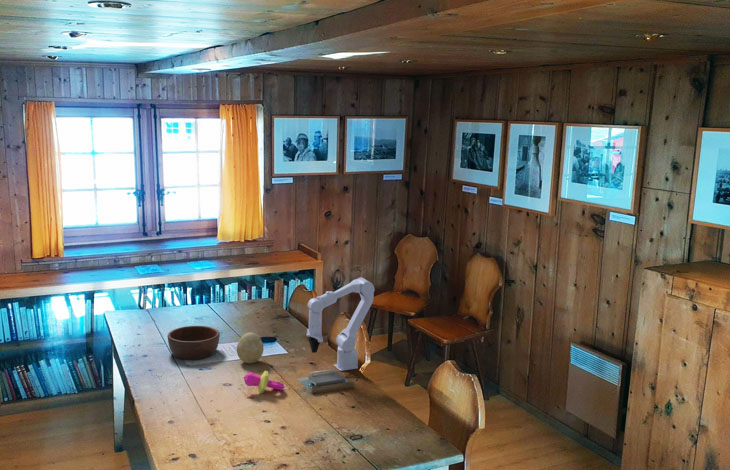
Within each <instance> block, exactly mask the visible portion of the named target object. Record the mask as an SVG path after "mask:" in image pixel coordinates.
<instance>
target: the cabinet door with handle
mask: <svg viewBox="0 0 730 470" xmlns="http://www.w3.org/2000/svg"><path fill="white" fill-rule="evenodd" d="M340 374H341V373H339V372H338V371H337V368H331V369H326V370H325V369H324V370H318V371H311V372H310V375H308V376H307V377H308V379H309V380H310V381H311V382H312V383H313V384H314V385H315V386H316V387H317V386H321V385H327V384H334V383H342V382H345V379H346V377H345V376H343V375H342V374H341V375H340Z"/></svg>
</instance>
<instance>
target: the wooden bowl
mask: <svg viewBox="0 0 730 470" xmlns="http://www.w3.org/2000/svg"><path fill="white" fill-rule="evenodd" d="M220 335H221V333H220V331H219V330H218V329H217V328H215V327H211V326H207V325H187V326H181V327H178V328H174V329H173V330H171V331H169V332H168V334H167V337H166V338H167V342H168V347H169V349H170V352H171V354H172V356H174V357H176V358H178V359H180V360H186V361H188V360H189V361H192V360H193V361H194V360H195V361H196V360H202V359H207V358H209V357H211V356H213V355H214V354H215V352H216V351H217V349H218V346H219V343H220Z"/></svg>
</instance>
